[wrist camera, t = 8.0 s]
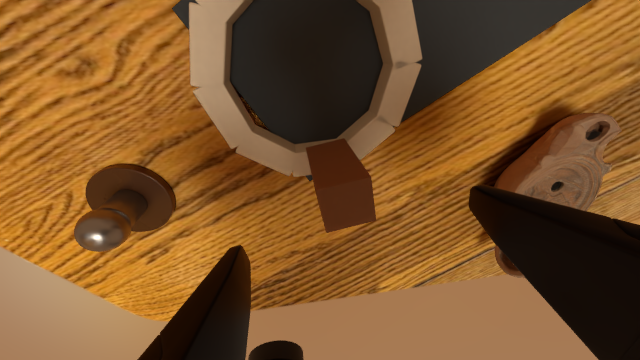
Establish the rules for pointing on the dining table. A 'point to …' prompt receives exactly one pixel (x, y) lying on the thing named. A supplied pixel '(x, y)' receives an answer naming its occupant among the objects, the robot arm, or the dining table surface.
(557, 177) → the oil lamp
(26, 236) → the dining table surface
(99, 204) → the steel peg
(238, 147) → the ivory ring
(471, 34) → the rubber mat
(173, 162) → the dining table surface
